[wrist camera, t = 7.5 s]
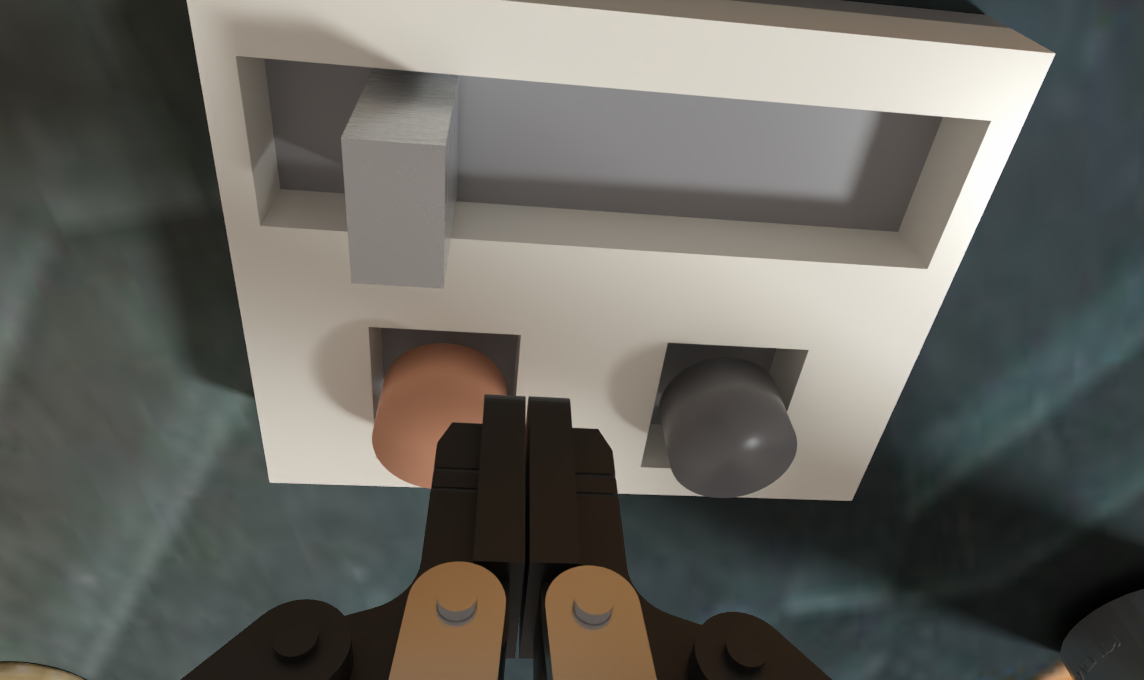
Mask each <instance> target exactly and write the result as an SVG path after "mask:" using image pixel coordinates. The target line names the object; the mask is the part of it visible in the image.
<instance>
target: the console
mask: <svg viewBox="0 0 1144 680" xmlns="http://www.w3.org/2000/svg"><path fill="white" fill-rule="evenodd" d="M187 6H188V11H189V17H190V23H191V29H192V35H193V40H194V46H195V52H196V58H197V64H198V69H199V75H200V81H201V87H202V93H203V98H204V104H205V110H206V116H207V122H208V127H209V133H210V139H211V145H212V151H213V156H214V162H215V168H216V174H217V180H218V185H219V191H220V197H221V203H222V209H223V214H224V220H225V226H226V232H227V237H228V243H229V249H230V255H231V261H232V266H233V272H234V278H235V284H236V290H237V295H238V301H239V307H240V313H241V319H242V324H243V330H244V336H245V342H246V348H247V353H248V359H249V365H250V371H251V377H252V382H253V388H254V394H255V400H256V406H257V411H258V417H259V423H260V429H261V435H262V440H263V446H264V452H265V458H266V464H267V469H268V475H269V481H270V483H301V484H333V485H364V486H396V487H420V486H416V485H413V484H410V483H407V482H405V481H403V480H401V479H399V478H398V477H396V476H394V475H393V474H392V473H390V472H389V471H388V470H387V469H386V468H385V467H384V466H383V465H382V464H381V463H380V461H379V460H378V458H377V456H376V454H375V452H374V449H373V445H372V432H373V428H374V423H375V418H376V414H377V409H378V404H379V400H380V395H381V390H382V386H383V381H384V377H385V374H386V372H387V370H388V369H389V367H390V365H391V364H392V363H393V362H394V361H395V360H396V359H397V358H398V357H399V356H401V355H402V354H404V353H405V352H407V351H409V350H411V349H413V348H416V347H419V346H422V345H427V344H434V343H450V344H457V345H462V346H465V347H469V348H471V349H474V350H476V351H478V352H480V353H482V354H483V355H485V356H486V357H488V358H489V359H490V360H491V361H492V362H493V363H494V364H495V365H496V366H497V367H498V368H499V370H500V371H501V373H502V374H503V376H504V379H505V382H506V386H507V395H512V396H525V397H526V416H527V405H528V398H529V396H535V397H555V398H569V399H570V403H571V417H572V428H589V429H599V431H600V432H601V434H602V435H603V437H604V438H605V440H606V441H607V443H608V444H609V446H610V447H611V449H612V450H613V458H614V466H615V479H616V482H617V491H618V494H649V495H680V496H702V495H699V494H696V493H694V492H692V491H690V490H688V489H686V488H685V487H684V486H682V485H681V484H680V483H679V482H678V481H677V480H676V478H675V477H674V475H673V473H672V470H671V466H670V462H669V457H668V452H667V448H666V443H665V438H664V434H663V429H662V424H661V420H660V415H659V404H660V400H661V396H662V394H663V392H664V390H665V389H666V387H667V386H668V384H669V383H670V382H671V381H672V380H673V379H674V378H675V377H676V376H677V375H678V374H679V373H681V372H682V371H684V370H685V369H687V368H689V367H691V366H693V365H695V364H697V363H700V362H703V361H706V360H710V359H715V358H740V359H744V360H748V361H751V362H753V363H755V364H757V365H759V366H761V367H762V368H764V369H765V370H766V371H767V372H768V373H769V374H770V375H771V377H772V378H773V380H774V382H775V384H776V387H777V389H778V392H779V394H780V396H781V399H782V401H783V404H784V406H785V409H786V411H787V414H788V416H789V419H790V421H791V424H792V426H793V428H794V431H795V434H796V437H797V451H796V455H795V458H794V460H793V462H792V464H791V465H790V467H789V468H788V469H787V471H786V472H785V473H784V474H783V475H782V476H781V477H780V478H779V479H777V480H776V481H775V482H773V483H772V484H770V485H769V486H767V487H765V488H763V489H761V490H759V491H756V492H754V493H751V494H747V495H744V496H739V497H744V498H775V499H807V500H838V501H852V499H853V497H854V495H855V493H856V490H857V488H858V486H859V484H860V482H861V479H862V477H863V475H864V473H865V471H866V469H867V466H868V464H869V462H870V460H871V458H872V455H873V453H874V451H875V449H876V447H877V444H878V442H879V440H880V438H881V436H882V433H883V431H884V429H885V427H886V425H887V422H888V420H889V418H890V416H891V414H892V411H893V409H894V407H895V405H896V403H897V400H898V398H899V396H900V394H901V392H902V389H903V387H904V385H905V383H906V381H907V379H908V376H909V374H910V372H911V370H912V368H913V365H914V363H915V361H916V359H917V357H918V354H919V352H920V350H921V348H922V346H923V343H924V341H925V339H926V337H927V335H928V332H929V330H930V328H931V326H932V324H933V321H934V319H935V317H936V315H937V313H938V310H939V308H940V306H941V304H942V302H943V299H944V297H945V295H946V293H947V291H948V289H949V286H950V284H951V282H952V280H953V278H954V275H955V273H956V271H957V269H958V267H959V264H960V262H961V260H962V258H963V256H964V253H965V251H966V249H967V247H968V245H969V242H970V240H971V238H972V236H973V234H974V231H975V229H976V227H977V225H978V223H979V220H980V218H981V216H982V214H983V212H984V209H985V207H986V205H987V203H988V201H989V199H990V196H991V194H992V192H993V190H994V188H995V185H996V183H997V181H998V179H999V177H1000V174H1001V172H1002V170H1003V168H1004V166H1005V163H1006V161H1007V159H1008V157H1009V155H1010V152H1011V150H1012V148H1013V146H1014V144H1015V141H1016V139H1017V137H1018V135H1019V133H1020V130H1021V128H1022V126H1023V124H1024V122H1025V119H1026V117H1027V115H1028V113H1029V111H1030V109H1031V106H1032V104H1033V102H1034V100H1035V98H1036V95H1037V93H1038V91H1039V89H1040V87H1041V84H1042V82H1043V80H1044V78H1045V76H1046V73H1047V71H1048V69H1049V67H1050V65H1051V62H1052V60H1053V58H1054V56H1055V53H1054V52H1052V51H1050V50H1048V49H1046V48H1045V47H1043V46H1041V45H1039V44H1038V43H1036V42H1034V41H1032V40H1030V39H1029V38H1027V37H1025V36H1023V35H1021V34H1020V33H1018V32H1016V31H1014V30H1013V29H1011V28H1009V27H1007V26H1005V25H1004V24H1002V23H1000V22H998V21H997V20H995V19H993V18H991V17H989V16H988V15H982V14H972V13H962V12H952V11H943V10H933V9H923V8H913V7H903V6H893V5H883V4H873V3H863V2H853V1H843V0H187ZM373 68H383V69H394V70H406V71H417V72H429V73H441V74H452V75H459V122H458V171H457V198H456V205H455V212H454V220H453V227H452V234H451V241H450V248H449V255H448V263H447V270H446V277H445V284H444V289H440V288H423V287H406V286H388V285H371V284H354V283H351V273H350V259H349V244H348V230H347V216H346V202H345V188H344V174H343V160H342V146H341V137H342V135H343V132H344V130H345V128H346V126H347V124H348V122H349V119H350V117H351V115H352V113H353V111H354V109H355V106H356V104H357V102H358V100H359V98H360V96H361V93H362V91H363V89H364V87H365V85H366V82H367V80H368V78H369V76H370V74H371V72H372V69H373Z"/></svg>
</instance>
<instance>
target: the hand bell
mask: <svg viewBox="0 0 1144 680" xmlns="http://www.w3.org/2000/svg"><path fill="white" fill-rule="evenodd" d="M0 680H85V679H83V678H81V677H79V676H77V675H74V674H72V673H70V672H66V671H63V670H60V669H56V668H52V667H48V666H41V665H38V664H31V663H22V662H5V663H0Z"/></svg>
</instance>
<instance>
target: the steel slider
mask: <svg viewBox="0 0 1144 680" xmlns="http://www.w3.org/2000/svg"><path fill="white" fill-rule="evenodd" d="M458 122H459V75H452V74H441V73H429V72H417V71H406V70H394V69H383V68H373V69H372V72H371V74H370V76H369V78H368V80H367V82H366V85H365V87H364V89H363V91H362V93H361V96H360V98H359V100H358V102H357V104H356V106H355V109H354V111H353V113H352V115H351V117H350V119H349V122H348V124H347V126H346V128H345V130H344V132H343V135H342V137H341V146H342V160H343V174H344V188H345V202H346V216H347V230H348V244H349V259H350V273H351V283H354V284H371V285H388V286H406V287H423V288H440V289H444V284H445V277H446V270H447V263H448V255H449V248H450V241H451V234H452V227H453V220H454V212H455V205H456V198H457V171H458Z"/></svg>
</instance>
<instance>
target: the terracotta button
mask: <svg viewBox="0 0 1144 680" xmlns="http://www.w3.org/2000/svg"><path fill="white" fill-rule="evenodd" d="M485 394H492V395H507V386H506V382H505V379H504V376H503V374H502V373H501V371H500V370H499V368H498V367H497V366H496V365H495V364H494V363H493V362H492V361H491V360H490V359H489V358H488V357H486V356H485V355H483V354H482V353H480V352H478V351H476V350H474V349H471V348H469V347H465V346H462V345H457V344H450V343H434V344H427V345H422V346H419V347H416V348H413V349H411V350H409V351H407V352H405V353H404V354H402V355H401V356H399V357H398V358H397V359H396V360H395V361H394V362H393V363H392V364H391V365H390V367H389V369H388V370H387V372H386V374H385V377H384V381H383V386H382V390H381V395H380V400H379V404H378V409H377V414H376V418H375V423H374V428H373V432H372V445H373V449H374V452H375V454H376V456H377V458H378V460H379V461H380V463H381V464H382V465H383V466H384V467H385V468H386V469H387V470H388V471H389V472H390V473H392V474H393V475H394V476H396V477H398V478H399V479H401V480H403V481H405V482H407V483H410V484H413V485H416V486H420V487H424V488H430V489H431V485H432V477H433V471H434V462H435V455H436V448H437V442H438V441H439V440H440V438H441V437H442V435H443V434H444V433H445V431H446V430H447V429H448V427H449V426H450V425H451V423H452V422H457V423H479V424H482V423H483V409H484V395H485Z"/></svg>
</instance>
